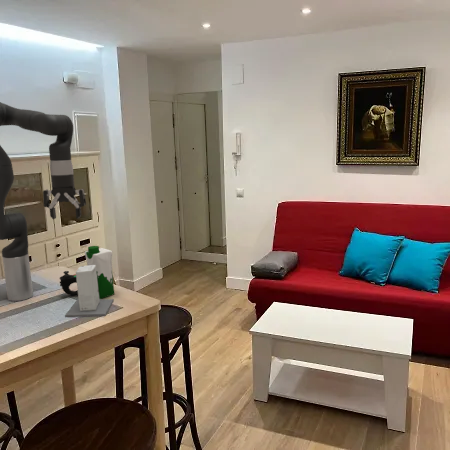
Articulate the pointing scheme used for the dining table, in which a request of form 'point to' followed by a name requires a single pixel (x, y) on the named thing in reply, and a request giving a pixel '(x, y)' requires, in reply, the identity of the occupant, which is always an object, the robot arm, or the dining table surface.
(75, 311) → the mat
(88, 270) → the skincare box
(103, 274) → the milk carton
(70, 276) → the controller
